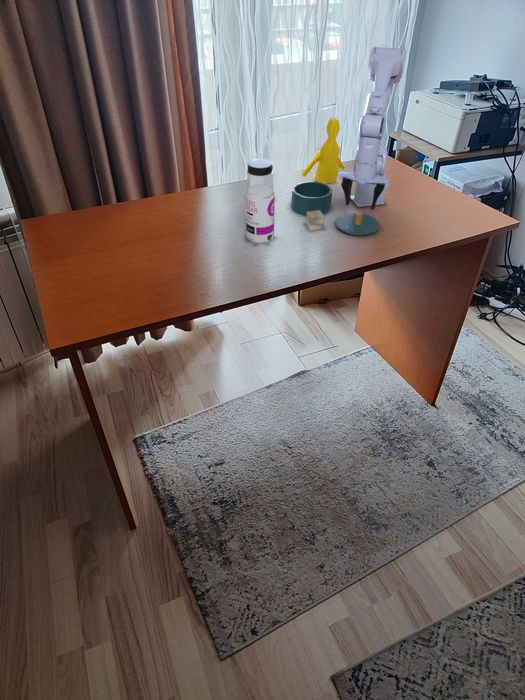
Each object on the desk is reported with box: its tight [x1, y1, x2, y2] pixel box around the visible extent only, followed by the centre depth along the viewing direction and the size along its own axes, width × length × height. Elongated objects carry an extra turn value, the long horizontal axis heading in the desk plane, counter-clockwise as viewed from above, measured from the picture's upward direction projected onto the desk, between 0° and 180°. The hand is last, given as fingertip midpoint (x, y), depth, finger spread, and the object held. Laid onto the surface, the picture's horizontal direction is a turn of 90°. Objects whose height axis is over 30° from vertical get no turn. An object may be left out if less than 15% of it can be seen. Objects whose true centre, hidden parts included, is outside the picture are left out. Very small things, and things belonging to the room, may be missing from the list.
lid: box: [335, 210, 381, 237], centre depth 145 cm, size 14×14×4 cm
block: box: [305, 210, 325, 231], centre depth 146 cm, size 4×4×4 cm
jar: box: [246, 158, 274, 191], centre depth 157 cm, size 9×8×12 cm
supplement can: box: [245, 184, 276, 245], centre depth 137 cm, size 8×8×15 cm
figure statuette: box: [300, 117, 346, 185], centre depth 164 cm, size 18×8×22 cm, turn 113°
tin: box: [291, 180, 333, 217], centre depth 155 cm, size 13×13×6 cm
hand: (360, 206), depth 142 cm, fingers open, 7 cm apart
